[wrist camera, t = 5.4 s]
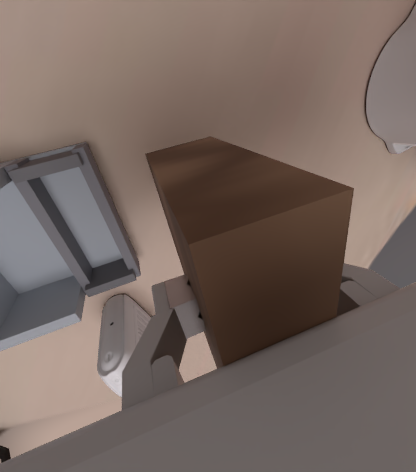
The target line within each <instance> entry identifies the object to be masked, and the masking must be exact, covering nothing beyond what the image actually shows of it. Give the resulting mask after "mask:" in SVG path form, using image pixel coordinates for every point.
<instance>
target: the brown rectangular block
mask: <svg viewBox="0 0 416 472" xmlns="http://www.w3.org/2000/svg"><path fill="white" fill-rule="evenodd" d="M146 157H147V160H148V164H149V167H150V170H151V173H152V176H153V179H154V182H155V185H156V188H157V191H158V194H159V197H160V200H161V204H162V207H163V210H164V213H165V216H166V219H167V222H168V225H169V228H170V231H171V234H172V237H173V240H174V244H175V247H176V250H177V253H178V256H179V259H180V262H181V265H182V268H183V271H184V274H187V276H188V279H189V282H190V285H191V287H192V289H193V292H194V294H195V297H196V300H197V303H198V306H199V309H200V314H201V316H202V319H203V322H204V325H205V328H206V330H205V331H204V333H205V336H206V339H207V341H208V344H209V347H210V350H211V353H212V355H213V358H214V361H215V364H216V366H217V369H218V368H220V367H223V366H226V365H228V364H230V363H233V362H235V361H237V360H240V359H242V358H244V357H246V356H249V355H251V354H253V353H256V352H258V351H260V350H262V349H265V348H267V347H269V346H272V345H274V344H276V343H278V342H281V341H283V340H285V339H288V338H290V337H292V336H294V335H297V334H299V333H301V332H303V331H306V330H308V329H310V328H313V327H315V326H317V325H319V324H322V323H324V322H326V321H329V320H331V319H333V318H335V317H336V315H337V308H338V300H339V293H340V286H341V278H342V271H343V264H344V256H345V249H346V242H347V235H348V227H349V220H350V213H351V205H352V198H353V191H354V188H352V187H349V186H346V185H343V184H341V183H338V182H335V181H332V180H329V179H327V178H324V177H321V176H318V175H316V174H313V173H310V172H307V171H304V170H302V169H299V168H296V167H293V166H291V165H288V164H285V163H282V162H280V161H277V160H274V159H271V158H268V157H266V156H263V155H260V154H257V153H255V152H252V151H249V150H246V149H244V148H241V147H238V146H235V145H232V144H230V143H227V142H224V141H221V140H219V139H216V138H213V137H207V138H203V139H199V140H195V141H192V142H188V143H184V144H180V145H177V146H173V147H169V148H166V149H162V150H158V151H154V152H151V153H147V154H146Z"/></svg>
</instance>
